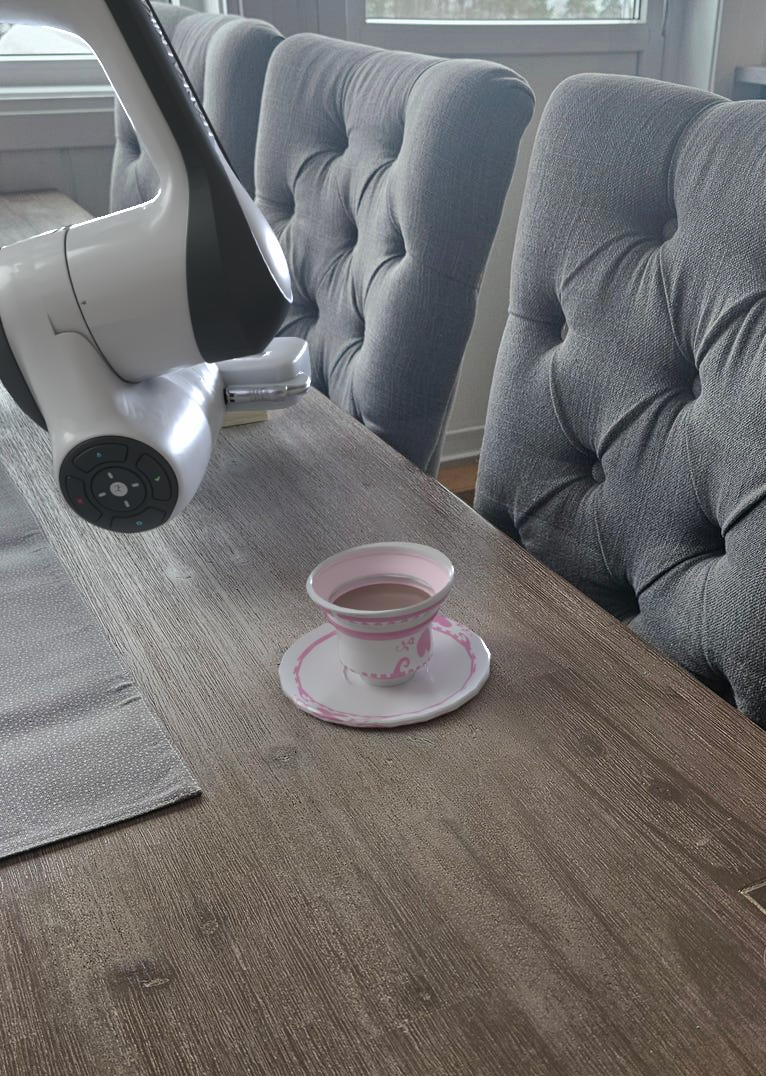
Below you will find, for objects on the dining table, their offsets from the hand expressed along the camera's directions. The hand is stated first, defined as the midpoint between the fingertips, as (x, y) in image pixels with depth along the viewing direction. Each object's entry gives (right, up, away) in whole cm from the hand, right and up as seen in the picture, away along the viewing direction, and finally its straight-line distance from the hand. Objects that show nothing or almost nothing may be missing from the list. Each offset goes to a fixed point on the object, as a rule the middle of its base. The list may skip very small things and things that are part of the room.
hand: (191, 345), depth 92 cm
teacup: (+18, -27, -28) cm, 43 cm away
